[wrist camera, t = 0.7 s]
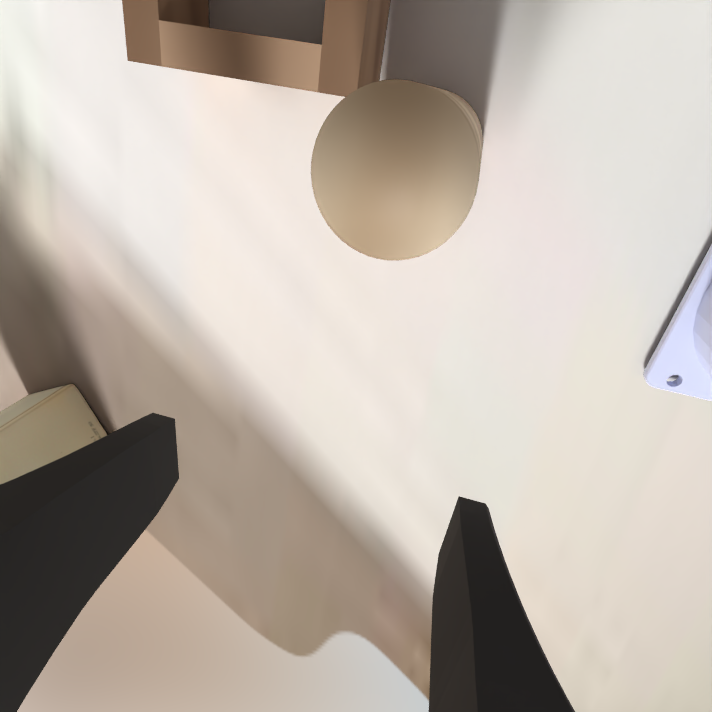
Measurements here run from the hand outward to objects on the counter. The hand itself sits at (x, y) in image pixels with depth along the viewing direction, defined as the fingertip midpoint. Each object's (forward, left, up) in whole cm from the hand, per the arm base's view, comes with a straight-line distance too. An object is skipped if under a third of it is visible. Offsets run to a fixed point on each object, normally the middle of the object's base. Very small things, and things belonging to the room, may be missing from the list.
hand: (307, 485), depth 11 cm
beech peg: (0, -7, -10) cm, 13 cm away
